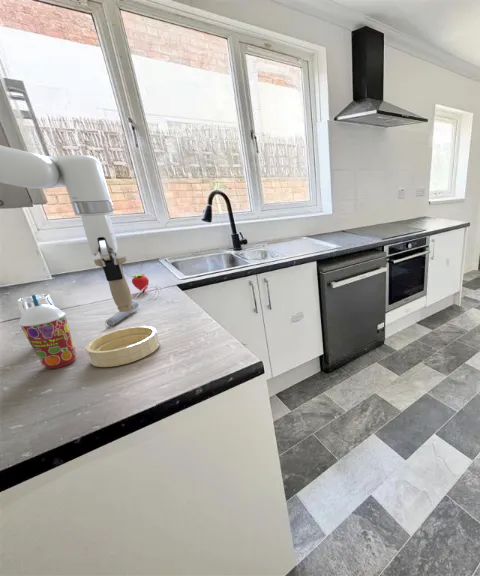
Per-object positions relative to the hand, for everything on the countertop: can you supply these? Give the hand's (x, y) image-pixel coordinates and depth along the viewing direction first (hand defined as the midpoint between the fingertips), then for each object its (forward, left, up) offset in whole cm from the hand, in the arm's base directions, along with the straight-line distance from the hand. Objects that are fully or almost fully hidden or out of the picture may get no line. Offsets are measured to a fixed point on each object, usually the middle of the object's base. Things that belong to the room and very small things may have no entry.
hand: (115, 276), depth 83 cm
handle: (0, 0, -10) cm, 10 cm away
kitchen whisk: (0, +40, -23) cm, 46 cm away
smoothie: (-17, +5, -23) cm, 29 cm away
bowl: (-3, 0, -23) cm, 23 cm away
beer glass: (-22, +24, -23) cm, 40 cm away
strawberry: (+2, +64, -23) cm, 68 cm away
